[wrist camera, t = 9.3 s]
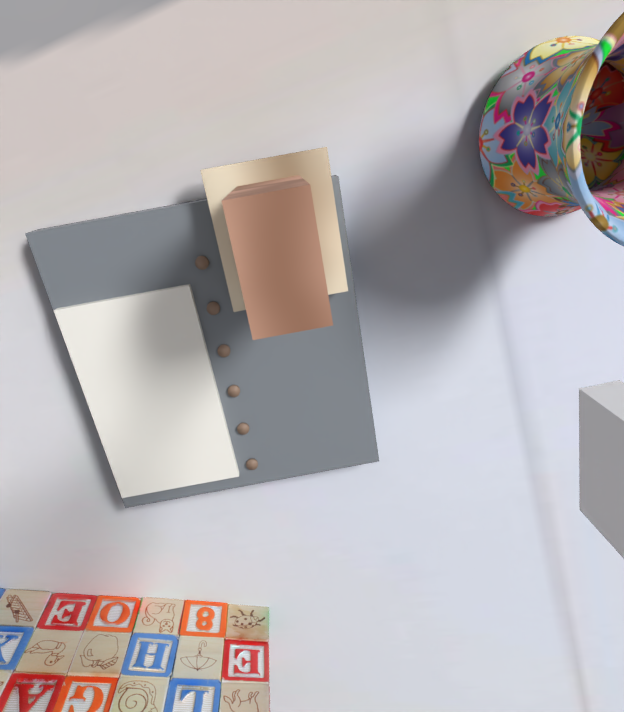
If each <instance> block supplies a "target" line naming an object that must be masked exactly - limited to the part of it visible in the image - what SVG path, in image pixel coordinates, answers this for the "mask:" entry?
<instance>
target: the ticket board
mask: <svg viewBox="0 0 624 712" xmlns="http://www.w3.org/2000/svg"><path fill="white" fill-rule="evenodd" d="M331 178H332V185H333V191H334V198H335V205H336V212H337V218H338V225H339V232H340V239H341V245H342V252H343V259H344V266H345V273H346V279H347V286H348V291H346V292H341V293H335V294H330V295H328V296H329V303H330V309H331V315H332V321H333V326H327V327H322V328H316V329H311V330H306V331H300V332H295V333H289V334H284V335H278V336H273V337H267V338H262V339H257V340H253V339H252V334H251V330H250V325H249V321H248V317H247V312H246V310H242V311H237V312H233V307H232V303H231V299H230V294H229V290H228V286H227V282H226V277H225V273H224V269H223V265H222V260H221V256H220V252H219V247H218V243H217V239H216V235H215V230H214V226H213V222H212V217H211V213H210V209H209V205H208V200H207V199H202V200H197V201H191V202H186V203H180V204H175V205H169V206H164V207H158V208H153V209H147V210H142V211H136V212H131V213H126V214H120V215H115V216H109V217H104V218H98V219H93V220H87V221H82V222H76V223H71V224H65V225H60V226H54V227H49V228H43V229H38V230H35V231H32V232H29V233H26V237H27V240H28V243H29V245H30V248H31V251H32V254H33V256H34V259H35V262H36V265H37V267H38V270H39V273H40V275H41V278H42V281H43V284H44V286H45V289H46V292H47V295H48V297H49V300H50V303H51V306H52V308H53V311H54V314H55V317H56V319H57V322H58V325H59V328H60V330H61V333H62V336H63V338H64V341H65V344H66V347H67V349H68V352H69V355H70V358H71V360H72V363H73V366H74V369H75V371H76V374H77V377H78V380H79V382H80V385H81V388H82V391H83V393H84V396H85V399H86V401H87V404H88V407H89V410H90V412H91V415H92V418H93V421H94V423H95V426H96V429H97V432H98V434H99V437H100V440H101V443H102V445H103V448H104V451H105V453H106V456H107V459H108V462H109V464H110V467H111V470H112V473H113V475H114V478H115V481H116V484H117V486H118V489H119V492H120V495H121V497H122V500H123V503H124V506H125V508H128V507H134V506H139V505H145V504H150V503H155V502H161V501H166V500H172V499H177V498H182V497H188V496H193V495H199V494H204V493H209V492H215V491H220V490H226V489H231V488H237V487H242V486H247V485H253V484H258V483H264V482H269V481H274V480H280V479H285V478H291V477H296V476H302V475H307V474H312V473H318V472H323V471H329V470H334V469H339V468H345V467H350V466H356V465H361V464H366V463H372V462H377V461H379V456H378V449H377V442H376V435H375V428H374V421H373V414H372V407H371V401H370V394H369V387H368V380H367V373H366V366H365V359H364V352H363V345H362V338H361V331H360V324H359V317H358V310H357V303H356V296H355V289H354V282H353V275H352V268H351V261H350V254H349V247H348V240H347V233H346V226H345V219H344V212H343V205H342V198H341V191H340V184H339V177H338V176H336V175H334V176H331Z"/></svg>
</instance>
